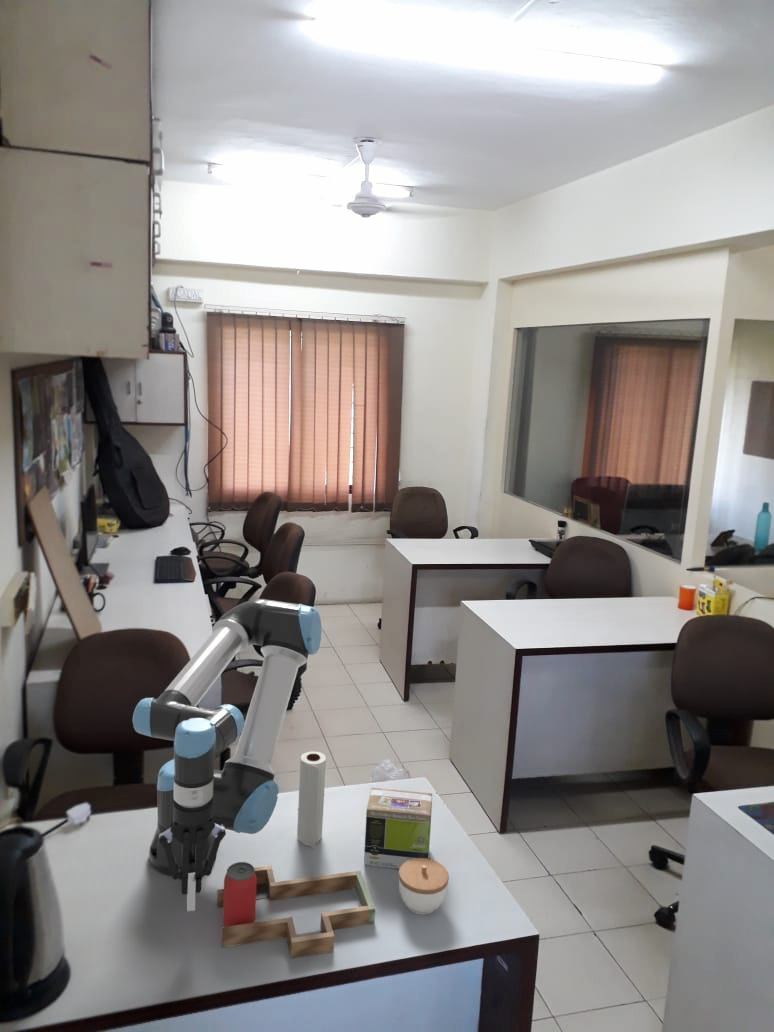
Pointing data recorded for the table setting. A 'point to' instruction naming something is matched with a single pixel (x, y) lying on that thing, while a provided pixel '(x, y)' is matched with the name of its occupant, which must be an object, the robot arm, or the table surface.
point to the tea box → (397, 827)
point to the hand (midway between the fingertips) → (190, 906)
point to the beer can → (239, 894)
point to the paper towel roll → (311, 797)
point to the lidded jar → (422, 884)
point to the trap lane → (285, 926)
